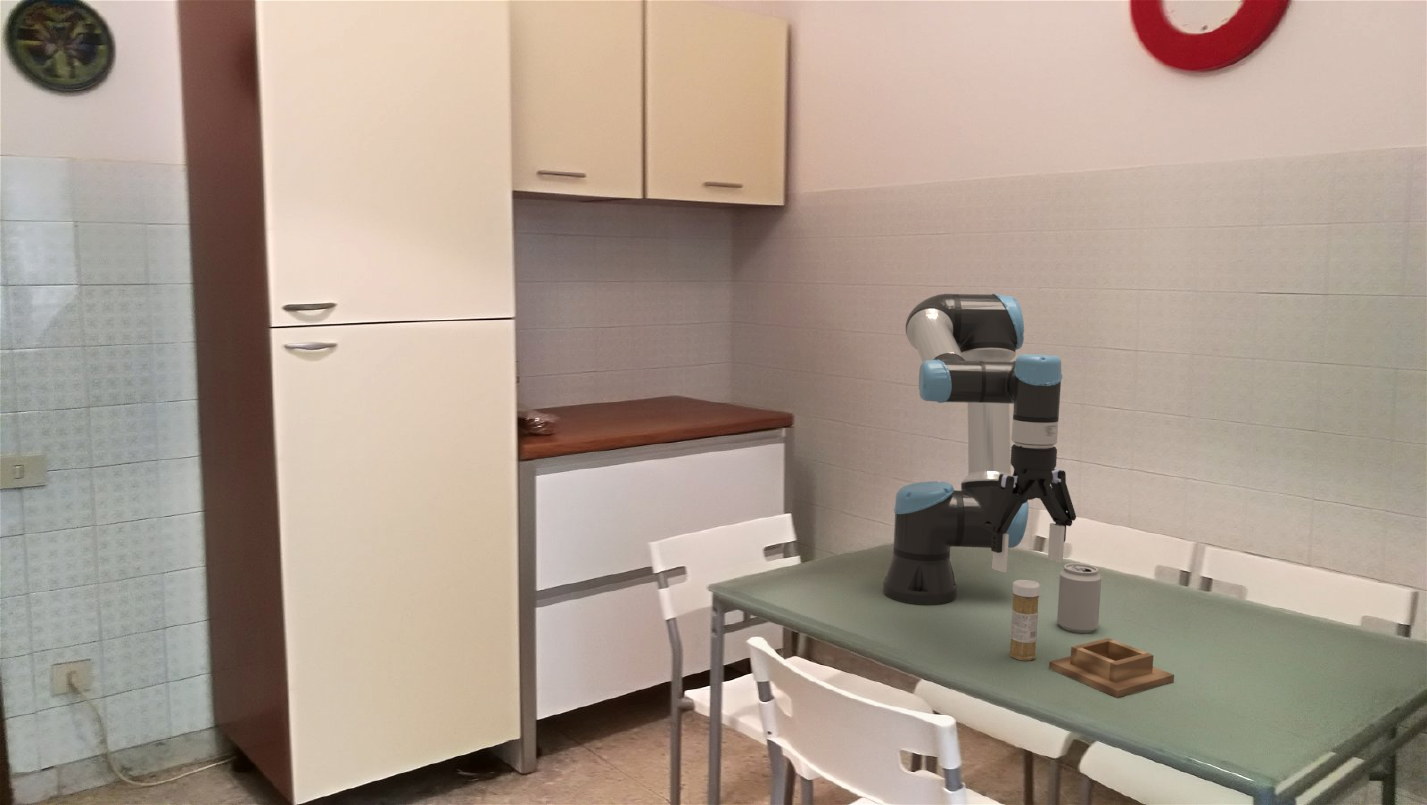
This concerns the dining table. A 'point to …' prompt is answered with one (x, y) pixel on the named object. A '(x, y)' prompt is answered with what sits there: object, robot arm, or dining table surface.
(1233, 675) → the dining table surface
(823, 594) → the dining table surface
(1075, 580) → the can
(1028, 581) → the sprinkles bottle
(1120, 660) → the holder
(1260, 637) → the dining table surface
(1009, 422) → the robot arm
